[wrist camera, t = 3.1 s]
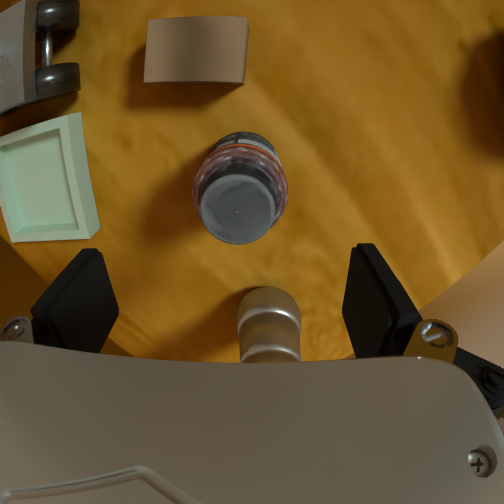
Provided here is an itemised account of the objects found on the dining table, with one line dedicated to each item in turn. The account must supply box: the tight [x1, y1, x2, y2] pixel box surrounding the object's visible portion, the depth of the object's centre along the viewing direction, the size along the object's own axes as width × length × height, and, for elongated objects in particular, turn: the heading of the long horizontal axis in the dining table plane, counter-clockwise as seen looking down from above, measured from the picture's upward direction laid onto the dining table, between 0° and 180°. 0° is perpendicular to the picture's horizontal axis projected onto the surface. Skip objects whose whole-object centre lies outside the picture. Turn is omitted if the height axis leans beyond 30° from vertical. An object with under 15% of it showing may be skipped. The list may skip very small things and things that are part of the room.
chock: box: [144, 16, 249, 85], centre depth 19 cm, size 7×5×4 cm
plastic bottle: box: [235, 287, 302, 363], centre depth 24 cm, size 6×7×20 cm
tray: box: [0, 112, 101, 242], centre depth 25 cm, size 12×12×2 cm
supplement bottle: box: [192, 131, 288, 245], centre depth 21 cm, size 6×6×11 cm
